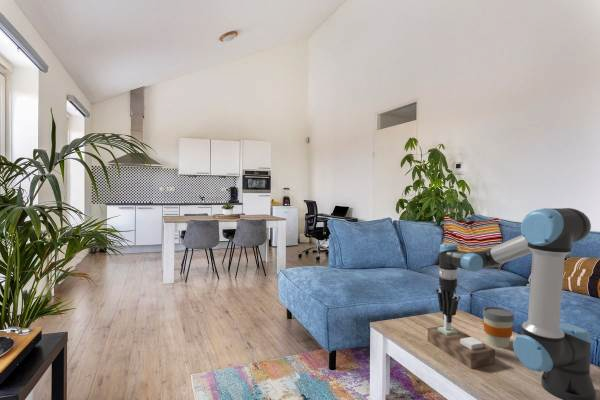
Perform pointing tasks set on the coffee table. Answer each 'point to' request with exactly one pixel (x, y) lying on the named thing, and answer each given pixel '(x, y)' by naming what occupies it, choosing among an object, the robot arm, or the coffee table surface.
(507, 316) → the reusable coffee cup
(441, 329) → the sage key
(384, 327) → the coffee table surface
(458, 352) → the key panel
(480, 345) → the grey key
